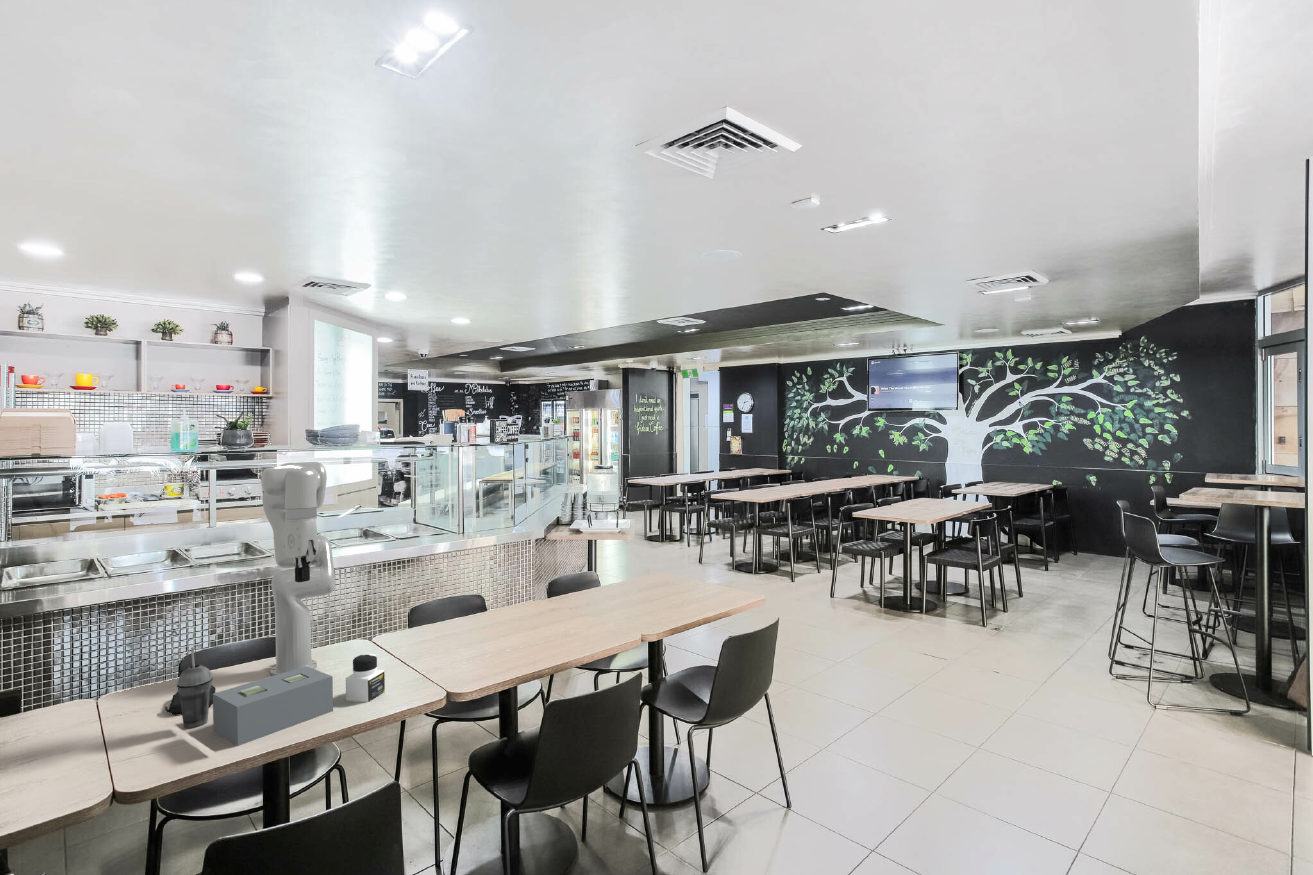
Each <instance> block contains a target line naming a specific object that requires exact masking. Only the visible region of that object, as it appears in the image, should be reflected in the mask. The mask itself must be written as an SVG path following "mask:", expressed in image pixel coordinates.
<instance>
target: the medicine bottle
mask: <svg viewBox="0 0 1313 875" xmlns="http://www.w3.org/2000/svg"><path fill="white" fill-rule="evenodd" d="M385 676H386V675H385V669H378V657H377V655H376V654H375V653H374V654H373V653H363V654H359V655H357V656H356V657H354V658H353V659H352V674H350V675H349V676H347V677H346V678H345V701H348V702H360V703H370V702H372V701H373V700H375V699H376V698H378V697H380V696H381V695H382V694H385V693H386V687H385V686H386V685H385V682H386V681H385Z"/></svg>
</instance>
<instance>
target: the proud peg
mask: <svg viewBox="0 0 1313 875" xmlns="http://www.w3.org/2000/svg"><path fill="white" fill-rule="evenodd" d="M264 691H265V689H264V688H262V687H260V686H255V687H252V688H248V689H245V690H242V691H240V695H242V696H244V697H248V696H252V695H255V694H258V693H261V692H264Z"/></svg>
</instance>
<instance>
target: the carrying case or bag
mask: <svg viewBox="0 0 1313 875" xmlns="http://www.w3.org/2000/svg"><path fill="white" fill-rule="evenodd" d="M214 693H216V687H215V686H214V685H212V684H211V688H210V699H209V709H210V708H211V706H213V694H214ZM164 710H165V712H166V713H167V714H171V715H173V716H180V715H182V709H181V701H180V694H179V692H178V691H177V692H176V693H175V694H173V695H172V698H171V701H170V704H169V707H168V706H165V707H164Z"/></svg>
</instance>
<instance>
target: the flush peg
mask: <svg viewBox="0 0 1313 875" xmlns="http://www.w3.org/2000/svg"><path fill="white" fill-rule="evenodd" d="M306 678H307V677H305V676H302V675H300V674H299V675H296V676H292V677H289V678H286V679H283V681H285V682H287V683H293V682H296V681H299V680H303V679H306Z"/></svg>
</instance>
